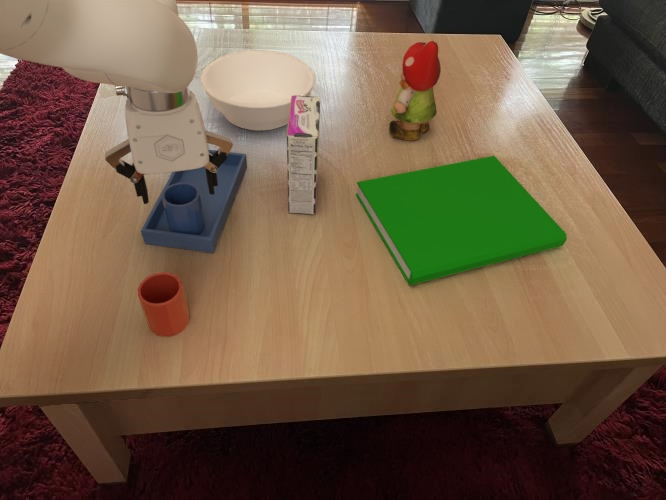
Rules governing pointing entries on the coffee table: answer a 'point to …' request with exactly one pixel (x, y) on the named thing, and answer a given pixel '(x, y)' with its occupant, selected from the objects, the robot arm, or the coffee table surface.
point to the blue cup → (183, 208)
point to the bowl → (256, 87)
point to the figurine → (416, 92)
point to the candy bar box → (303, 154)
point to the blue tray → (212, 206)
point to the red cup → (164, 304)
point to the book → (456, 218)
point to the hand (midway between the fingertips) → (178, 193)
